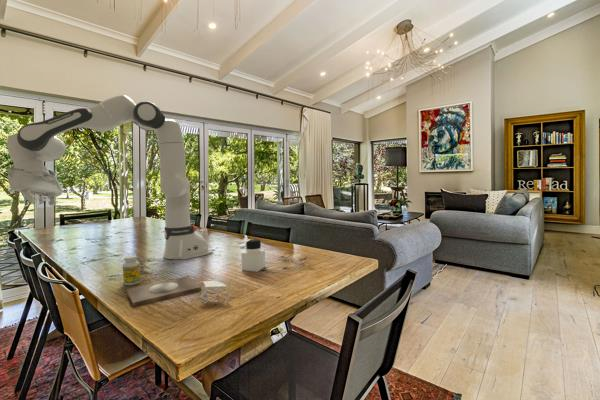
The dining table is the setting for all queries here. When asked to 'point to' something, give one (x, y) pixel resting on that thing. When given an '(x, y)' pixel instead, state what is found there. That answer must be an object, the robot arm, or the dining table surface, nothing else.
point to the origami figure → (213, 285)
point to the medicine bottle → (253, 256)
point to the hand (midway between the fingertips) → (43, 203)
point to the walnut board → (161, 290)
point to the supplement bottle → (131, 270)
